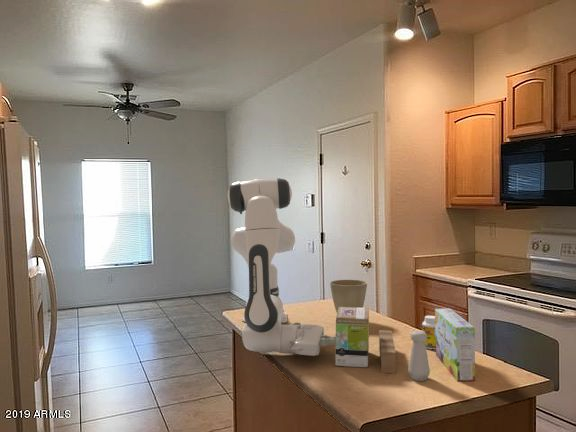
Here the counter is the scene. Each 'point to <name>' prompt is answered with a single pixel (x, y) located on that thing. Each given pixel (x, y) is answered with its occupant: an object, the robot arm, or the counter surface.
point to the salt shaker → (419, 357)
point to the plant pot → (348, 293)
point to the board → (387, 352)
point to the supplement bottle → (429, 332)
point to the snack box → (455, 344)
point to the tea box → (352, 336)
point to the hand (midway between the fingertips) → (336, 340)
